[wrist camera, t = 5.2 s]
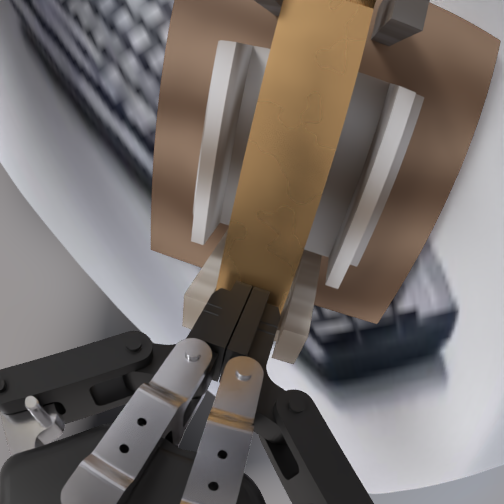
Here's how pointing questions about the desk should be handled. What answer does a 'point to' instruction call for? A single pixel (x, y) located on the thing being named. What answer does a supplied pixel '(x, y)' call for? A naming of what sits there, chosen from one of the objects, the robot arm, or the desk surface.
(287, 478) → the robot arm
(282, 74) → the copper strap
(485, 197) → the desk surface
